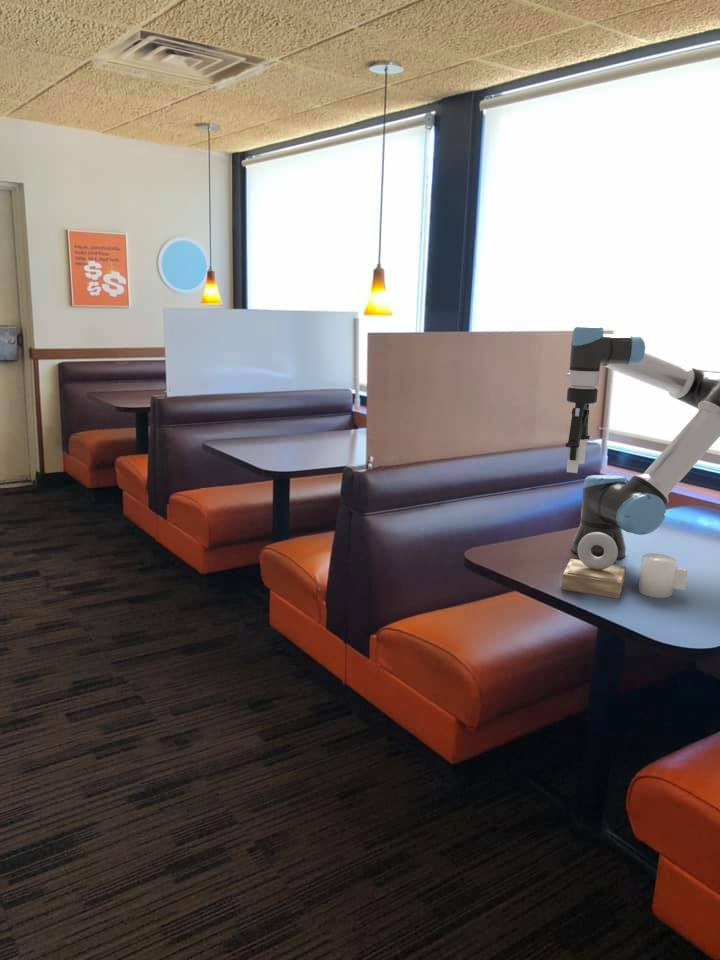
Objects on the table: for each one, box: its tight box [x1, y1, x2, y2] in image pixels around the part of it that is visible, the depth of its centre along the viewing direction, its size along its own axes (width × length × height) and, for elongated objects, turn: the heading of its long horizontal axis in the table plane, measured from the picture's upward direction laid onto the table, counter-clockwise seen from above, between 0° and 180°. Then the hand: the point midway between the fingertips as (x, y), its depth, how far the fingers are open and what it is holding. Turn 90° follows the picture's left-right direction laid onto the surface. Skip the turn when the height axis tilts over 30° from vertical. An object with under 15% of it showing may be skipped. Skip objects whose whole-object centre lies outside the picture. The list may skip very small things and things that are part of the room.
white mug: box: [638, 552, 688, 599], centre depth 192 cm, size 8×11×9 cm
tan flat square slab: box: [561, 558, 626, 599], centre depth 197 cm, size 14×14×4 cm
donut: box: [577, 532, 618, 570], centre depth 195 cm, size 10×4×10 cm, turn 67°
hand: (575, 467), depth 201 cm, fingers open, 13 cm apart
